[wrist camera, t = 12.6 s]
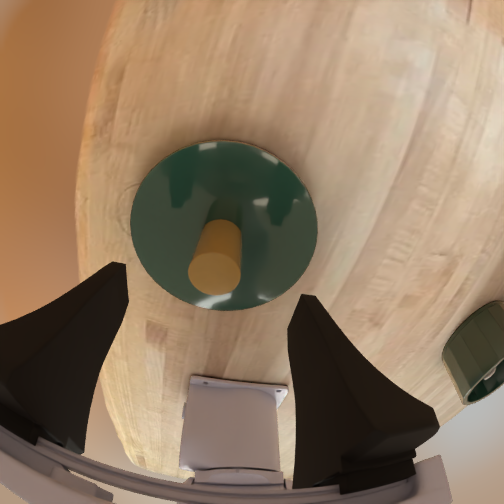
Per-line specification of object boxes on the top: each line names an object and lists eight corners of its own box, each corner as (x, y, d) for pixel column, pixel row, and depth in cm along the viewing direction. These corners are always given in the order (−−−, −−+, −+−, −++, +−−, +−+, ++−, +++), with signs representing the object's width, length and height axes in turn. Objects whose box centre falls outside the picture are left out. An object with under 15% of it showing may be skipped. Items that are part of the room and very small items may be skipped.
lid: (137, 285, 19) (115, 331, 15) (142, 127, 13) (102, 140, 9) (286, 310, 20) (294, 360, 16) (336, 161, 14) (367, 187, 10)
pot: (426, 366, 25) (445, 411, 19) (477, 297, 20) (510, 343, 14) (473, 361, 26) (491, 397, 21) (516, 302, 21) (543, 338, 15)
